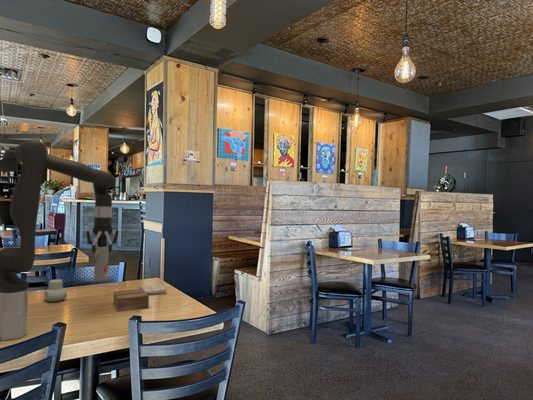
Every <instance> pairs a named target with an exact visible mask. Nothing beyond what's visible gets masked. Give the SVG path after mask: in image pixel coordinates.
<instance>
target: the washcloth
mask: <svg viewBox="0 0 533 400" xmlns="http://www.w3.org/2000/svg"><path fill="white" fill-rule="evenodd" d="M139 289H143V290H144V291H145V292H146V293H147V294H148V296H149V297H150V296H157V295H158V296H159V295H166V294H167V292H166V291H167V289H166V286H164V285H162V283H153V284H143V285H140V287H139Z"/></svg>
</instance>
